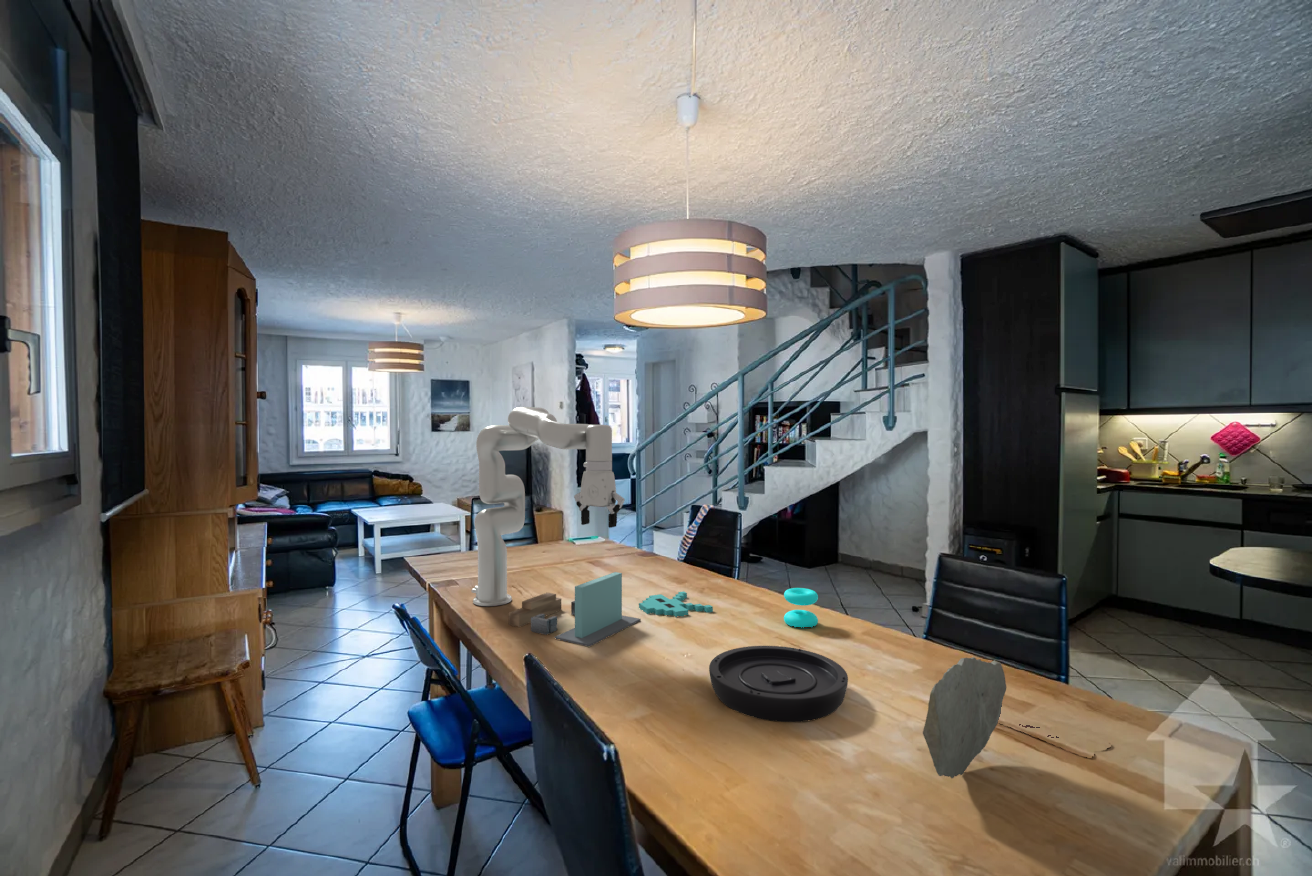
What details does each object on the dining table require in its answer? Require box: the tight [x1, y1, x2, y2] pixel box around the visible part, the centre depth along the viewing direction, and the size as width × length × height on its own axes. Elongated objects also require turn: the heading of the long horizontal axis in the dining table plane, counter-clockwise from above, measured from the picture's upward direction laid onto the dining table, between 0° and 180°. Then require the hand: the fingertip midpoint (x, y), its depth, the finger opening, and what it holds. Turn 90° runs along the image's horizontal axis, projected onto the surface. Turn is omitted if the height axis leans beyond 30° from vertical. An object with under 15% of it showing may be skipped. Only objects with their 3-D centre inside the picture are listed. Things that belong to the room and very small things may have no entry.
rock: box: [922, 656, 1007, 779], centre depth 104 cm, size 27×6×20 cm, turn 135°
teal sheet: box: [574, 571, 623, 638], centre depth 178 cm, size 2×20×14 cm, turn 150°
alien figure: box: [638, 590, 714, 618], centre depth 201 cm, size 20×2×20 cm
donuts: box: [783, 587, 819, 629], centre depth 184 cm, size 10×10×10 cm
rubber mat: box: [554, 614, 641, 647], centre depth 178 cm, size 12×26×1 cm, turn 150°
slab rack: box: [530, 600, 575, 636], centre depth 185 cm, size 6×23×4 cm, turn 150°
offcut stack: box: [508, 592, 562, 628], centre depth 190 cm, size 4×20×6 cm, turn 151°
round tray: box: [708, 645, 849, 723], centre depth 136 cm, size 30×6×30 cm
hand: (598, 525), depth 178 cm, fingers open, 9 cm apart
